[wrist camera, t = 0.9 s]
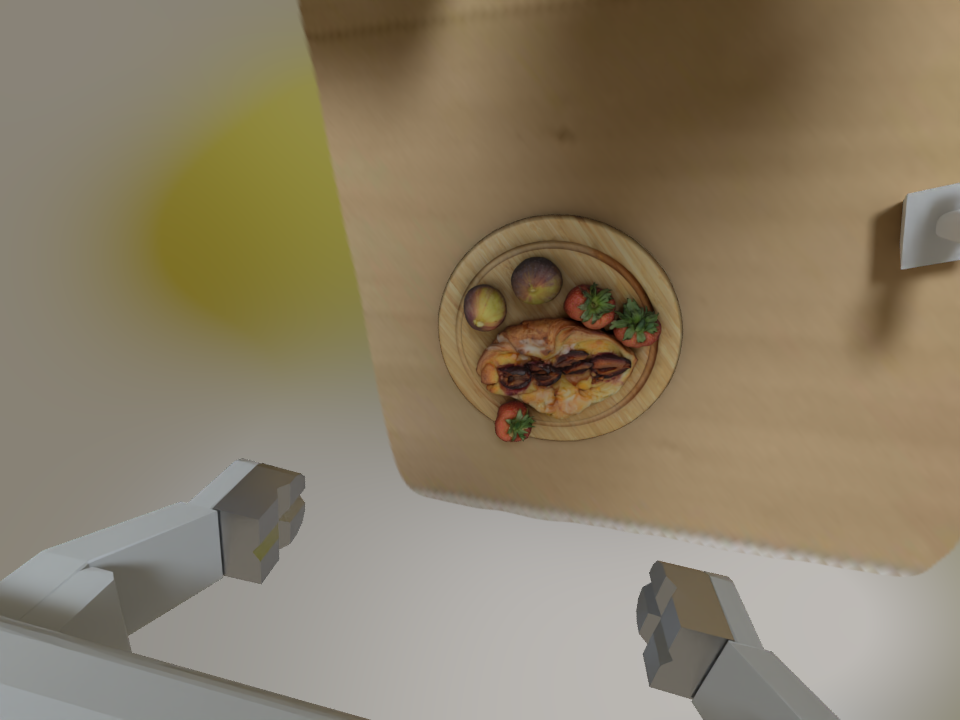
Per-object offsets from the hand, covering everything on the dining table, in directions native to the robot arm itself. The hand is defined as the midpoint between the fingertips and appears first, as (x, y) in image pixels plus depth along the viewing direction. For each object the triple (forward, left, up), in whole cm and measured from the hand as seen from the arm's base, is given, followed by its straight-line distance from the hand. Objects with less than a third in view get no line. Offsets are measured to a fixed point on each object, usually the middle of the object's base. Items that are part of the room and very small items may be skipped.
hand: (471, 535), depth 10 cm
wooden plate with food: (+12, +11, -49) cm, 52 cm away
